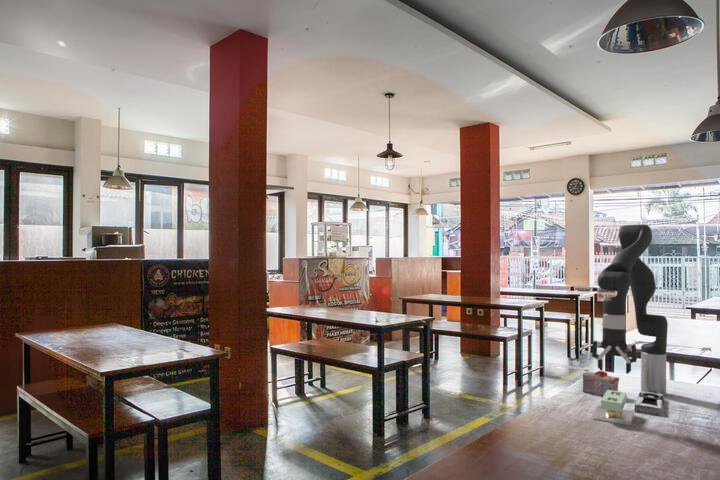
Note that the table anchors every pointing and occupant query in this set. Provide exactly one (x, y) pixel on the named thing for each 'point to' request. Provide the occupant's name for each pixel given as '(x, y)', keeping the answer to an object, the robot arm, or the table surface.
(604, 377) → the food item
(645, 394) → the graphics card
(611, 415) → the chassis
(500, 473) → the table surface
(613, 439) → the table surface
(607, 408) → the board
